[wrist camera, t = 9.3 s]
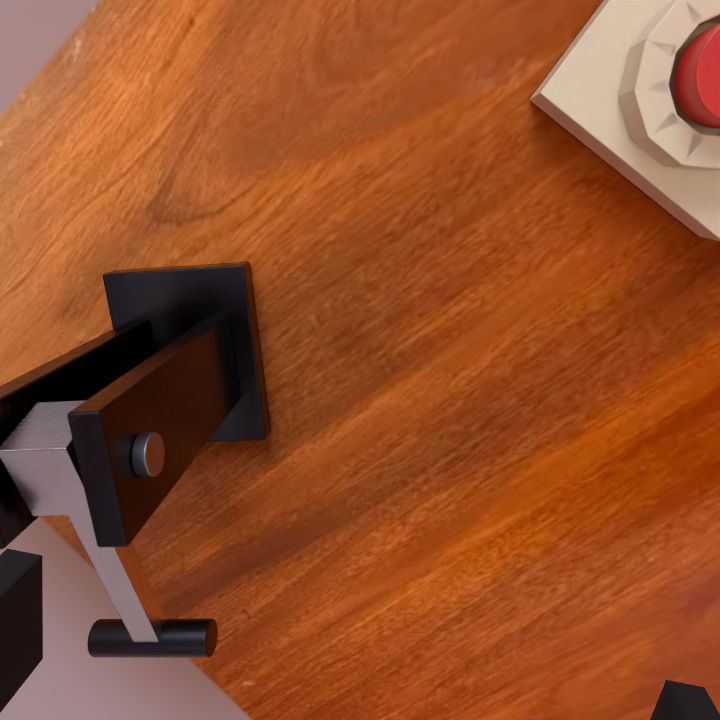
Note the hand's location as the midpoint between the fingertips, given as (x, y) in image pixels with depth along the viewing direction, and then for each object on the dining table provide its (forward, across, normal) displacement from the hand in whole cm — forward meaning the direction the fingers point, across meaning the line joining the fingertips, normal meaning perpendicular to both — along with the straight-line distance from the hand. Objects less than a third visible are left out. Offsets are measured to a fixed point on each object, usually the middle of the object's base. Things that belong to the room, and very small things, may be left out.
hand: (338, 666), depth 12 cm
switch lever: (+9, -9, -4) cm, 13 cm away
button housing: (+19, +10, +15) cm, 26 cm away
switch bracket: (+18, -10, 0) cm, 21 cm away
